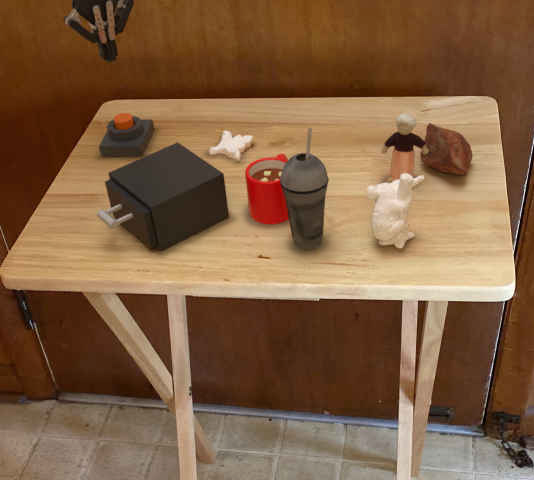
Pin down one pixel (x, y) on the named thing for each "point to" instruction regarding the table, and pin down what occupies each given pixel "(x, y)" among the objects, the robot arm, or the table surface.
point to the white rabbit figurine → (392, 210)
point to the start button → (123, 121)
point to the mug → (266, 190)
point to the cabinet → (176, 192)
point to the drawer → (128, 214)
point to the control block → (127, 138)
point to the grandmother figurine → (403, 147)
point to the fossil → (446, 150)
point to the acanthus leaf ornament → (232, 145)
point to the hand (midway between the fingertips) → (110, 60)
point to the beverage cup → (305, 197)
